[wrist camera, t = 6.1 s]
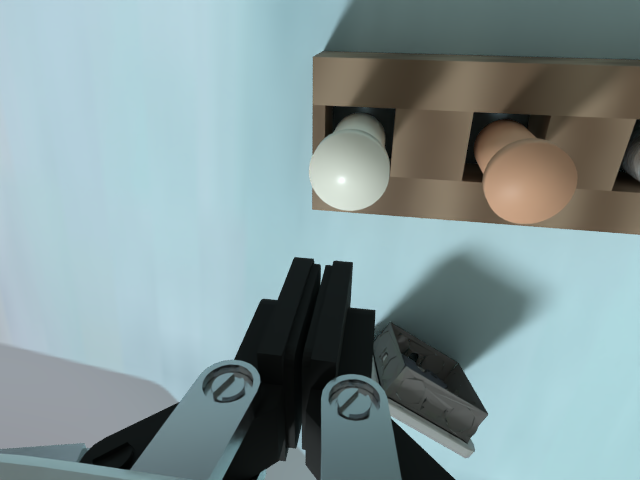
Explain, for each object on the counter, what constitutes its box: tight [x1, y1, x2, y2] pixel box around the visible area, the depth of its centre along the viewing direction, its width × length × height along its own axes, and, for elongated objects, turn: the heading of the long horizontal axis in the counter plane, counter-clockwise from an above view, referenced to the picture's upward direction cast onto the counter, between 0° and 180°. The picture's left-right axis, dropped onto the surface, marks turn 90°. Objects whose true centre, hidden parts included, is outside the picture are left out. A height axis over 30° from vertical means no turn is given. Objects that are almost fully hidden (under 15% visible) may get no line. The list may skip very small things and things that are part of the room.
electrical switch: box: [371, 322, 488, 458], centre depth 36 cm, size 9×5×9 cm, turn 59°
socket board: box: [312, 51, 640, 235], centre depth 29 cm, size 24×10×4 cm, turn 89°
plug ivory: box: [309, 113, 390, 211], centre depth 26 cm, size 4×4×7 cm
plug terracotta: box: [473, 119, 578, 224], centre depth 25 cm, size 4×4×7 cm
